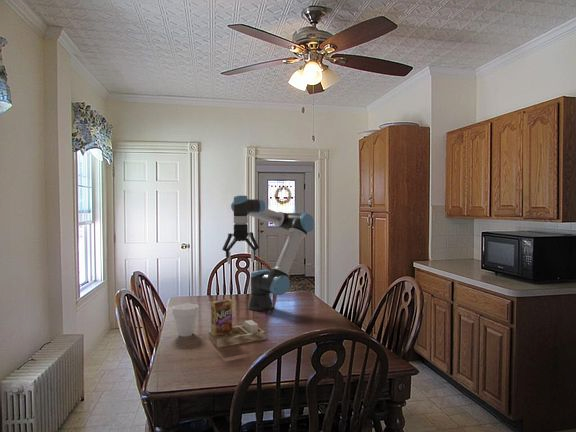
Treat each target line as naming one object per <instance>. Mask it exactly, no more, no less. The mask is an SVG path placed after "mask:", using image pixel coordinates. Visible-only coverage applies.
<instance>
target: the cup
mask: <svg viewBox="0 0 576 432" xmlns="http://www.w3.org/2000/svg"><path fill="white" fill-rule="evenodd" d="M198 313H199V305H198V304H196V303H180V304H179V303H178V304H176V305H174V306H173V307H172V315H173V319H174V322H175V325H176V330H177V334H178V336H179V337H184V338H186V337H190V336H192V334H194V332H195V327H196V322H197V317H198Z"/></svg>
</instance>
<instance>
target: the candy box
mask: <svg viewBox="0 0 576 432" xmlns="http://www.w3.org/2000/svg"><path fill="white" fill-rule="evenodd" d="M210 304H211V307H210V309H211V310H210V312H211V313H210V314H211V316H210V317H211V318H210V330H211V334H212V335H213V336H217V335H223V334H228V333H232V327H233V300H232V299H231V298H230V299H229V298H224V299H219V300H211V303H210Z"/></svg>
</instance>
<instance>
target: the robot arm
mask: <svg viewBox="0 0 576 432" xmlns="http://www.w3.org/2000/svg"><path fill="white" fill-rule="evenodd" d="M230 208H231V210H232V212H233V233H231V232H228V233H227V239H226V240H225V241H224V244H223V247H222V251H224V252H225V257H226V258H227V265H231V251H230V250H231V249H232V248H233V247H234V246H235V244H236V243H237V242H246V243H247V245H248V246H249V247H250V262H251V263H255V256H256V255H257V254H256V253H257V252H256V251H257V250H258V249H260V247H259V245H258V243H257V240H256V239H255V236H254V232H252V231H251V232H248V231H249V229H248V228H249V227H248V221H249V220H248V217H249V216H250V217H252V218H256V219H257V220H258V219H259V220H261V221H264V222H268V223H270V224H273V225H274V226H275V227H278V228H281V229H284V230H287V231H289V234H288V236H287V238H286V241H285V243H284V245H283V247H282V249H281V250H282V251H281V252H280V255H279V257H278V259H277V262H276V264H275V266H274V267H272V268H270V270H269V269H260V270H254V271H252V272H250V298H249V301H248V304H247V307H248V310H251V311H254V312H255V311H257V312H258V311H260V312H261V311H268V310H269V311H270V310H271V309H273V308H274V307H273V305H274V304H273V303H274V302H273V300H272V298H271V295H274V296H282V295H284V294H286V293H287V292H288V291H289V288H290V286H291V280H290V274H289V271H290V269H291V267H292V264H293V262H294V259H295V257H296V255H297V253H298V250H299V248H300V245H301V243H302V240H303V239H304V238H306V237H307V235H308V233H310V232H312V231H313V230H314V229H315V228H314V227H315V220H314V218H313V216H312V215H311V213H307V212H301V213H300V212H282V211H275V210H272V209H269V208H267V207H266V203H265V201H264V200H263V199H259V198H258V199H257V198H256V199H255V198H253V199H251V198H250V199H248V196H247V195H234V196H233V200H232V202H231V204H230ZM248 236H249V237H250V239H249V238H248ZM232 238H233V239H232ZM231 240H232V241H231ZM250 240H251V241H250ZM230 241H231V242H230ZM252 243H253V244H252ZM270 294H271V295H270Z"/></svg>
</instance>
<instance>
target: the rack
mask: <svg viewBox="0 0 576 432" xmlns="http://www.w3.org/2000/svg"><path fill="white" fill-rule="evenodd" d="M207 338H208V339H210V341H212V343H213V344H215V345H214V346H216V347H217V348H222V347H228V346H233V345H240V344H244V343H245V344H246V343H249V342H250V343H251V342H256V341H261V340H266V339H267V338H266V331H265V330H263V329H262V328H260V327H259V326H258V332H256V333H249V332H247V331H246V330H245V329H244V324H242V325H236V326H232V333H228V334H223V335H217V336H213V335H212V334H211V329H209V330H208V336H207Z"/></svg>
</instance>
